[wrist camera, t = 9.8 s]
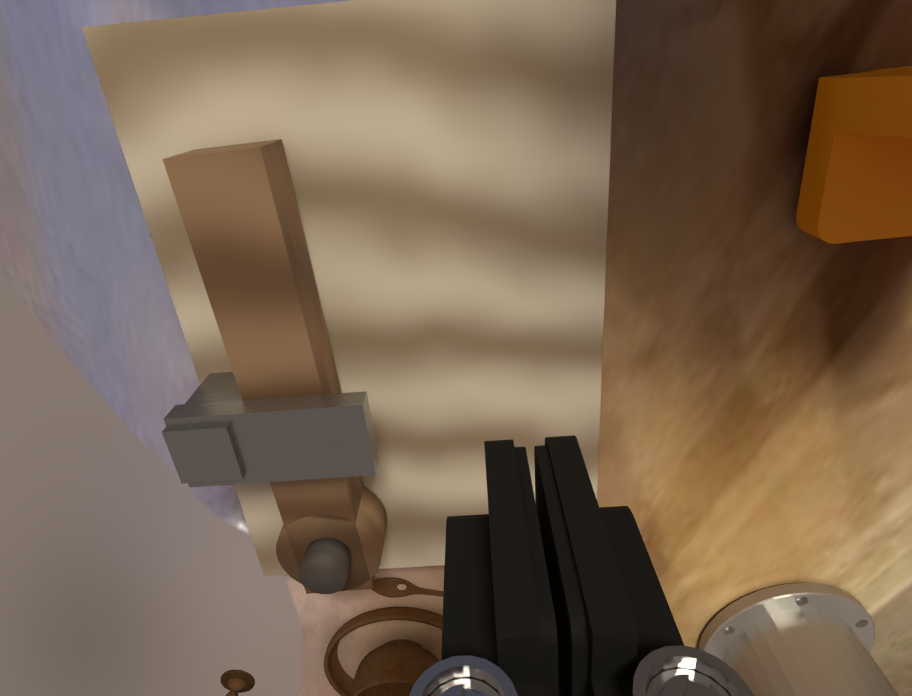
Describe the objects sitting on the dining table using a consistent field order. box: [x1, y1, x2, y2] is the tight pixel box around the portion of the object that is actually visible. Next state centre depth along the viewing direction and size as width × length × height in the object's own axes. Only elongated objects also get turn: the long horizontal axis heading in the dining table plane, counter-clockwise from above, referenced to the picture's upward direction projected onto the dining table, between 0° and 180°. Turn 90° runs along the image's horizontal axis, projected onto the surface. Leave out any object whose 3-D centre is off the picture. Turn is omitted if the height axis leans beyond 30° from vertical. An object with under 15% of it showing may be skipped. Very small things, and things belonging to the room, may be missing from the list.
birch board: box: [82, 0, 616, 576], centre depth 31 cm, size 32×22×2 cm
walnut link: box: [163, 139, 387, 594], centre depth 28 cm, size 25×6×5 cm, turn 6°
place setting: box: [220, 578, 444, 696], centre depth 42 cm, size 18×20×6 cm
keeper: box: [162, 372, 379, 487], centre depth 29 cm, size 4×9×8 cm, turn 95°
